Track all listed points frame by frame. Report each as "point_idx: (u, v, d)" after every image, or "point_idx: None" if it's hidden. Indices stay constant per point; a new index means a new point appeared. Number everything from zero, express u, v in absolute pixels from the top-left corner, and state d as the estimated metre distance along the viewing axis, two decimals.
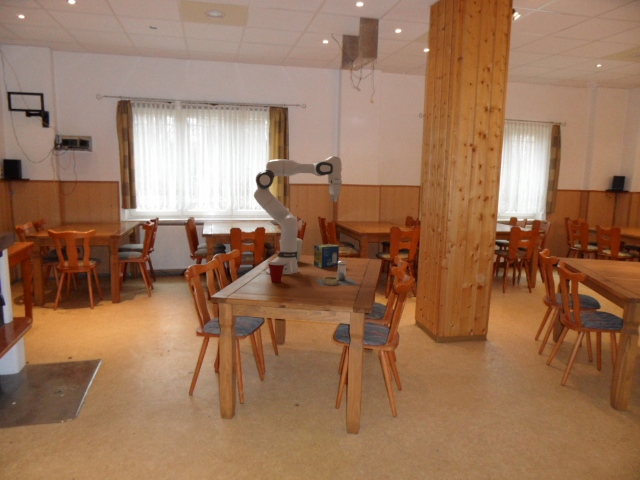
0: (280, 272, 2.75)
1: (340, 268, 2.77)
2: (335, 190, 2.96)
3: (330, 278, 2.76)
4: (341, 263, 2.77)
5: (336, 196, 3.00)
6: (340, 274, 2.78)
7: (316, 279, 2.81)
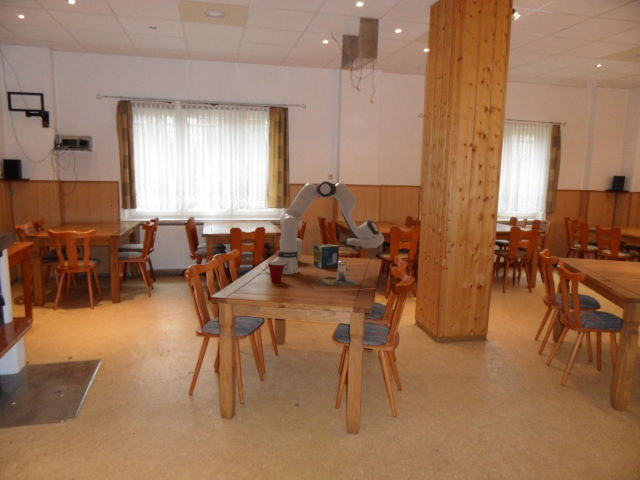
0: (280, 272, 2.75)
1: (340, 268, 2.77)
2: (374, 242, 2.86)
3: (330, 278, 2.76)
4: (341, 263, 2.77)
5: (365, 244, 2.85)
6: (340, 274, 2.78)
7: (316, 279, 2.81)
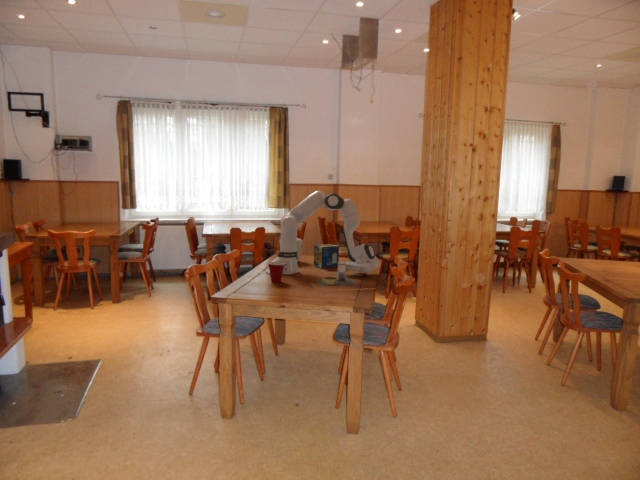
0: (280, 272, 2.75)
1: (340, 268, 2.77)
2: (368, 267, 2.84)
3: (330, 278, 2.76)
4: (341, 263, 2.77)
5: (360, 269, 2.84)
6: (340, 274, 2.78)
7: (316, 279, 2.81)
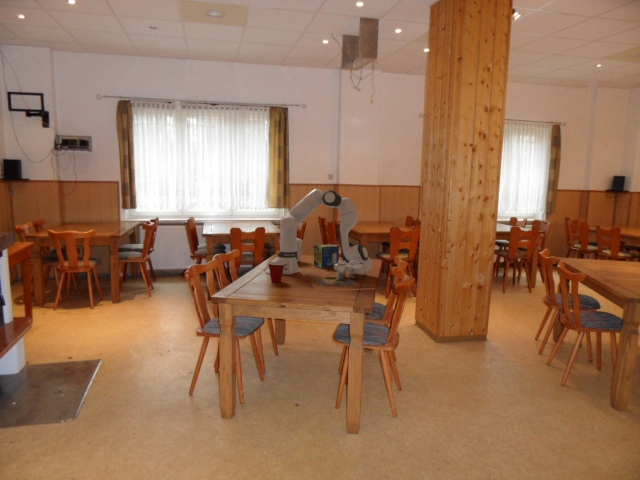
0: (280, 272, 2.75)
1: (340, 268, 2.77)
2: (361, 268, 2.78)
3: (330, 278, 2.76)
4: (341, 263, 2.77)
5: (350, 270, 2.79)
6: (340, 274, 2.78)
7: (316, 279, 2.81)
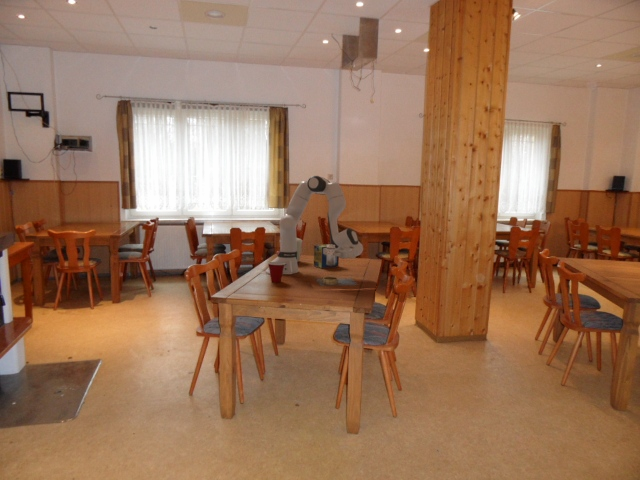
0: (280, 272, 2.75)
1: (329, 252, 2.68)
2: (351, 252, 2.69)
3: (330, 278, 2.76)
4: (330, 247, 2.67)
5: (340, 254, 2.69)
6: (329, 259, 2.68)
7: (316, 279, 2.81)
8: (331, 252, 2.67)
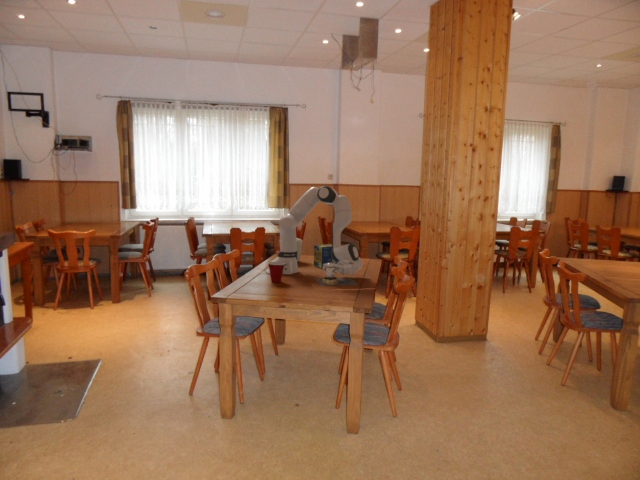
0: (280, 272, 2.75)
1: (328, 270, 2.69)
2: (350, 268, 2.70)
3: None
4: (329, 265, 2.69)
5: (341, 271, 2.69)
6: (328, 277, 2.70)
7: (316, 279, 2.81)
8: (330, 270, 2.69)
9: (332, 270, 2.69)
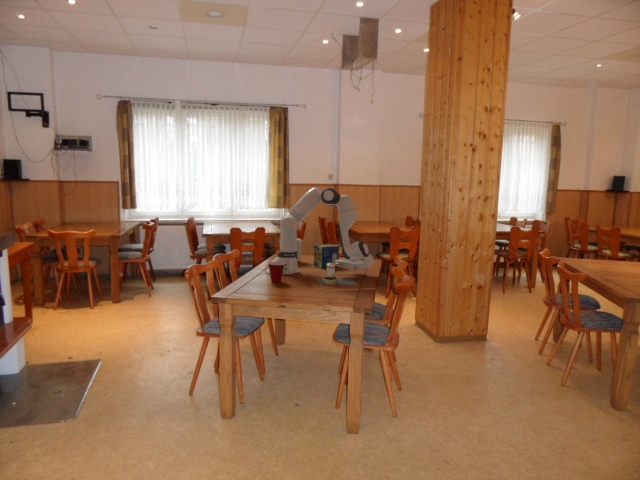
0: (280, 272, 2.75)
1: (329, 271, 2.69)
2: (362, 264, 2.79)
3: None
4: (330, 265, 2.68)
5: (353, 266, 2.79)
6: (328, 277, 2.69)
7: (316, 279, 2.81)
8: (331, 271, 2.69)
9: (332, 270, 2.69)
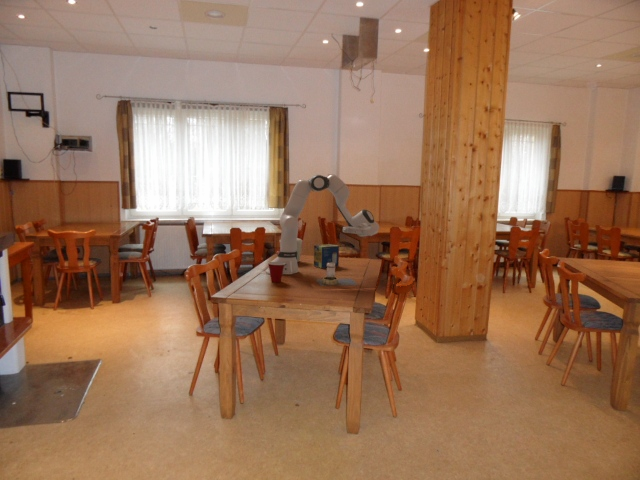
0: (280, 272, 2.75)
1: (329, 270, 2.69)
2: (369, 229, 2.89)
3: None
4: (330, 265, 2.69)
5: (361, 232, 2.89)
6: (328, 277, 2.70)
7: (316, 279, 2.81)
8: (331, 270, 2.69)
9: (332, 270, 2.69)
